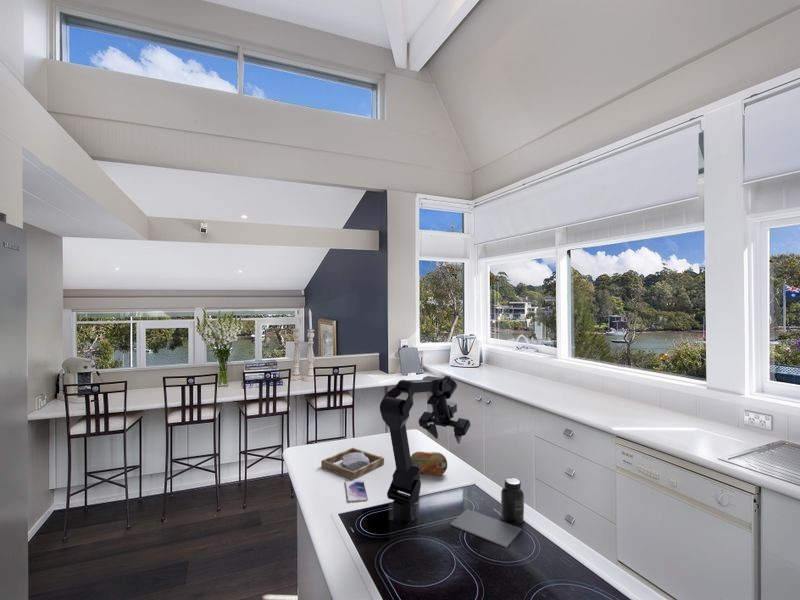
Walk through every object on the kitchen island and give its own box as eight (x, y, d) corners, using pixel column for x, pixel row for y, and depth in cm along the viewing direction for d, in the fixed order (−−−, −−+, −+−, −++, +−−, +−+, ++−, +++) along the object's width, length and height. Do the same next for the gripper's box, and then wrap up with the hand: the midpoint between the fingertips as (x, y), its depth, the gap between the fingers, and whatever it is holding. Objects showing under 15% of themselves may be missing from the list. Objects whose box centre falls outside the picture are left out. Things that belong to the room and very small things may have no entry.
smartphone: (363, 480, 151) (368, 499, 136) (363, 482, 151) (368, 502, 136) (344, 481, 149) (347, 501, 134) (344, 483, 149) (347, 503, 134)
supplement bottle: (523, 515, 128) (523, 477, 128) (523, 526, 121) (524, 487, 121) (501, 511, 130) (501, 474, 130) (500, 523, 123) (501, 484, 123)
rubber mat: (506, 548, 111) (506, 546, 111) (450, 525, 122) (450, 523, 122) (521, 530, 120) (521, 528, 120) (467, 509, 131) (467, 508, 131)
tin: (408, 474, 157) (408, 452, 157) (409, 470, 160) (409, 449, 160) (447, 476, 155) (447, 455, 155) (447, 473, 158) (447, 451, 158)
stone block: (348, 477, 157) (372, 469, 161) (345, 466, 157) (369, 457, 161) (341, 467, 168) (363, 458, 172) (338, 455, 168) (361, 448, 172)
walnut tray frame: (353, 479, 152) (353, 472, 152) (321, 466, 163) (321, 460, 163) (384, 464, 166) (384, 458, 166) (352, 453, 177) (352, 447, 177)
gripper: (472, 397, 145) (479, 430, 151) (427, 390, 156) (435, 421, 161) (460, 417, 137) (468, 451, 143) (413, 408, 147) (422, 441, 153)
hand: (448, 440), depth 150 cm, fingers open, 9 cm apart
